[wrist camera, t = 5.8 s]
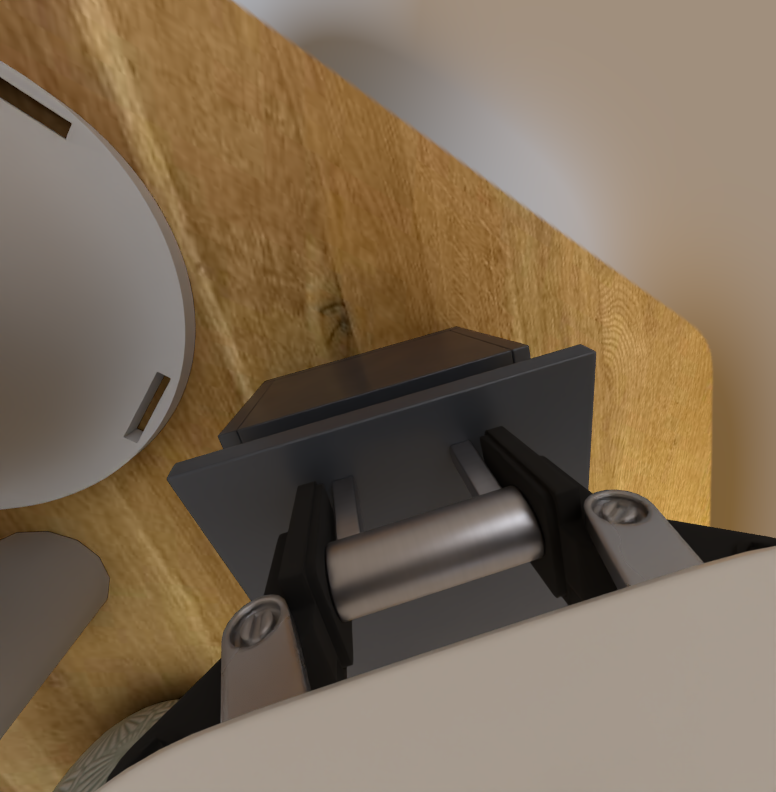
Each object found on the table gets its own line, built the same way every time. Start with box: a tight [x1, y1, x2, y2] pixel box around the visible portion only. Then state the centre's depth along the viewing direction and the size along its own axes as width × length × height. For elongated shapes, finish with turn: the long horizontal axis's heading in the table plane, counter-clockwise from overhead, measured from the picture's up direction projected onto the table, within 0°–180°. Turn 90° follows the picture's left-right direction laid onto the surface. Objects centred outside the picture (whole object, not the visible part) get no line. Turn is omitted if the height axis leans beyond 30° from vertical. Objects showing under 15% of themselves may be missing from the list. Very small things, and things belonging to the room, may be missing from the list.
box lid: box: [167, 344, 596, 679], centre depth 13 cm, size 17×14×5 cm
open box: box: [218, 326, 531, 449], centre depth 22 cm, size 17×14×10 cm
